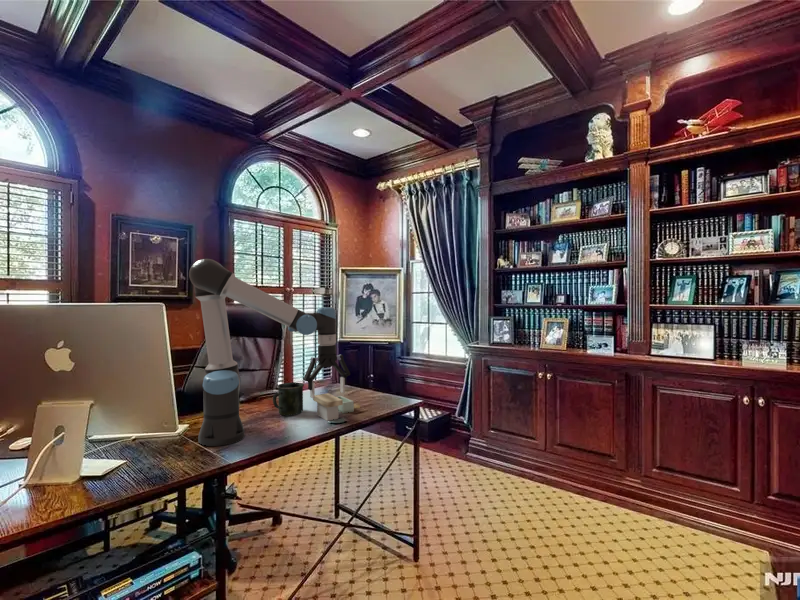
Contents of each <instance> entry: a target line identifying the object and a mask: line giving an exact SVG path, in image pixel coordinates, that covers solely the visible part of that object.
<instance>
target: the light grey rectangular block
mask: <svg viewBox="0 0 800 600" xmlns="http://www.w3.org/2000/svg"><path fill="white" fill-rule="evenodd" d="M316 403H317V402H316ZM316 409H317V410H316V411H317V412H316V413H317V414H316V415H317V416H318V417H320V418H322V419H323V420H325V421H327V422H329V421H333V419H334V420H337V419H339V411H338V406H333V407H328V408H327V407H325V406H323V405H321V404H319V403H317V404H316ZM328 420H329V421H328Z"/></svg>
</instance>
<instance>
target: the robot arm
mask: <svg viewBox="0 0 800 600" xmlns="http://www.w3.org/2000/svg"><path fill="white" fill-rule="evenodd" d="M188 275H189V280H190V282H191V284H192V285H193V289H194V295H195V296H194V298H196V299H197V300H198V301H199V302H200V306H201V315H202V316H201V317H202V321H203V330H204V337H205V344H206V352H207V361H208V364H207V366H206V367H205V368H204V370H205V375H204V376H203V382H202V389H203V391H202V392H203V396H202V397H203V399H202V400H203V401H202V402H203V421H202V424H201V426H200V430H199V433H198V438H197V439H198V440H197V441H198V444H199V443H200V444H199V445H201V444H202V445H201V446H204V445H206V446H205V447H218V446H219V447H221V446H227V445H231V444H235V443H237V442H240V441H241V440H243V439H244V438H245V436H246V435H245V434H246V433H245V428H244V427H245V426H244V425H243V422H242V419H241V416H240V389H241V385H242V378H241V377H240V371H239V365H238V362H237V361H235V359H234V358H233V350H232V342H231V337H230V336H231V335H230V334H231V333H230V329H229V320H228V319H229V318H228V313H227V312H228V311H227V305H226V298H228V299H231V300H233V301H235V302H237V303H239V304H241V305H243V306H245V307H248V308H249V309H251V310H252V311H253V310H254V311H255V312H257V313H259V314H261V315H264V316H266V317H268V318H269V319H271V320H274V321H275V322H278V323H280V324H282V325H284V326H286V327H287V330H288V331H289V332H290V333H297V332H298V333H299V334H301V335H303V336H309V335H311V334H312V335H313V333H314V332H317V344H318V345H317V352H318V353H317V355H318V356H317V357H315V356H314V357H313V356H311V357H310V363H309V365H308V366H307V370H306V372H305V374H304V376H303V381H305V382H307V388H308V390H309V392H310V393H309V394H310V398H312V399H313V398H315V395H316V394H315V392H316V391H315V390H316V389H315V381H314V380H315V378H316V377H317V376H318V375H319V373H320V372H321V370H322V369H323V368H328V367H329V368H332V367H333V368H334V369H335V370H336V372H337V373H338V374H339V375H340V376H339V390H340V391H339V392H340V393H341V394H345V393H346V390H345V386H346V385H347V378H348V377H349V376H351V372H350V370H349V368H348V366H347V364H346V361H345V360H344V355H343V354H340V353H339V354H338V355H337V345H336V344H337V333H336V332H337V328H336V327H337V322H336V321H337V318H336V309H335V308H334V307H318V308H317V310H316V311H317V312H305V311H302V310H300V309H298V308H296V307H295V306H292V305H291V304H289V303H287V302H285V301H283V300H281V299H278V298H277V297H275V296H273V295H271V294H269V293H268V292H265V291H263V290H261V289H259V288H258V287H256V286H253V285H251V284H250V283H247V282H246V281H244V280H242V279H241V278H238V277H236V275H235V273H234V272H232V271H230V270H228V269H227V268H225V267H224V265H222V264H221V263H220V262H218V261H216V260H214V259H212V258H211V259H210V258H201V259H199V260H197V261H195V262H194V263H193V264H192V265H191V267H190V269H189V272H188ZM336 361H339V364H340V365H338V363H337V362H336ZM317 362H318V364H317V365H316V363H317ZM315 366H316V367H315ZM340 366H341V367H340Z"/></svg>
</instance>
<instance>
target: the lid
mask: <svg viewBox="0 0 800 600" xmlns="http://www.w3.org/2000/svg"><path fill="white" fill-rule="evenodd" d="M312 401H314V402H315V403H319V404H321V405H323V406H325V407H327V408H328V407H333V406H339V405H343V400H342V399H339V398H337V396H335V395H332V393H328V392H327V393H323V394H321V393H320V394H315V398H312Z"/></svg>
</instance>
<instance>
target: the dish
mask: <svg viewBox="0 0 800 600" xmlns="http://www.w3.org/2000/svg"><path fill="white" fill-rule="evenodd" d="M336 397H337V398H339V399H342V400H343V405H339V406H338V412H339V413H341V412H342V414H347V413H348V412H349V413H354V410H355V407H354V403H355V402H354V400H352V399H349V398H347V397H345V396H342V395H337V396H336Z"/></svg>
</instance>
